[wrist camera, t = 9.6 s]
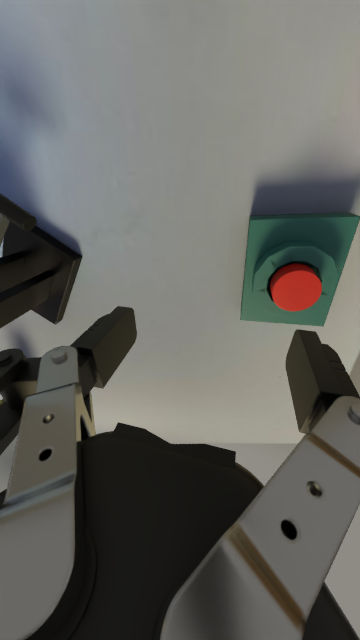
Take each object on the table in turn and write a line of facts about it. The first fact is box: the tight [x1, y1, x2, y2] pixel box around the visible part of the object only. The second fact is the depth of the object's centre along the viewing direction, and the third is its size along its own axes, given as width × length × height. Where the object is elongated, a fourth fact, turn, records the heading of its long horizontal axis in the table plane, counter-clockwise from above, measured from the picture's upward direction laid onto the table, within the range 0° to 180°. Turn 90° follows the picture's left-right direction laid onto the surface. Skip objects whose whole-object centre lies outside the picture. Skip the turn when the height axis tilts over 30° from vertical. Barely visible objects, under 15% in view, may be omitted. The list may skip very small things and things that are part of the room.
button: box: [270, 263, 322, 311], centre depth 18 cm, size 4×4×2 cm
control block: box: [240, 213, 360, 326], centre depth 20 cm, size 10×8×4 cm
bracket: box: [0, 221, 82, 328], centre depth 25 cm, size 12×9×12 cm
